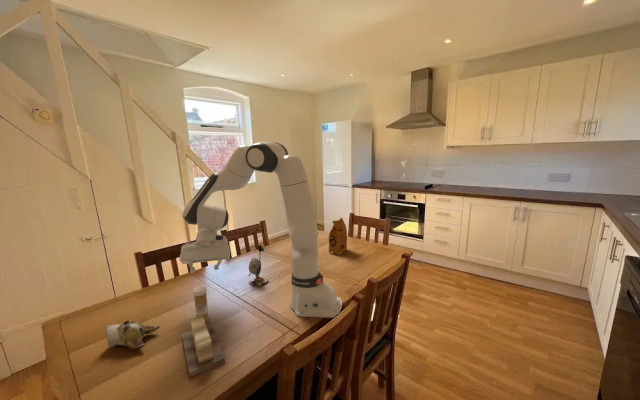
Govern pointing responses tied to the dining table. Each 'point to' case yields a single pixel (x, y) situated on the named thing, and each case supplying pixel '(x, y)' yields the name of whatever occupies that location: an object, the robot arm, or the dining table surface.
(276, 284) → the dining table surface
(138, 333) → the ceramic sculpture
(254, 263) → the bird figurine
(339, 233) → the coffee package
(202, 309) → the sprinkles bottle
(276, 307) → the dining table surface
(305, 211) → the robot arm
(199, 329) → the ridge stand
